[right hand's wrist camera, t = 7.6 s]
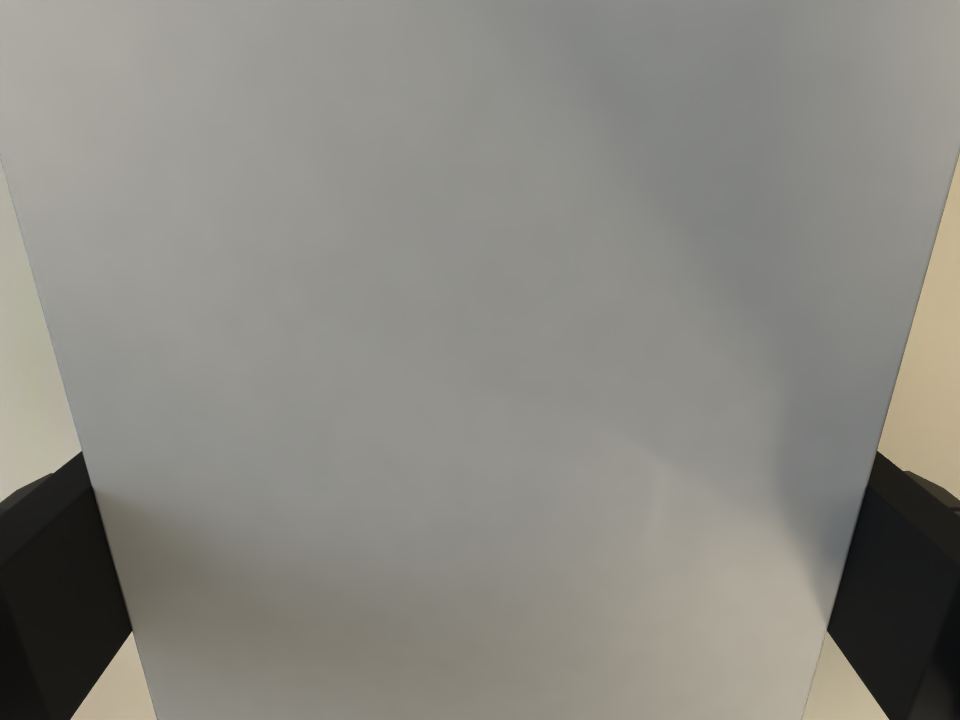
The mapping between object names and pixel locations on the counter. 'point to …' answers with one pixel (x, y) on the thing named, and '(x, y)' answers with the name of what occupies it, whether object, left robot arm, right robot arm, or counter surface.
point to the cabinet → (479, 334)
